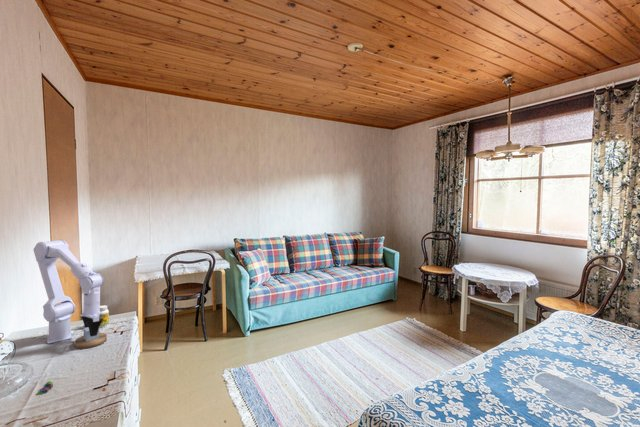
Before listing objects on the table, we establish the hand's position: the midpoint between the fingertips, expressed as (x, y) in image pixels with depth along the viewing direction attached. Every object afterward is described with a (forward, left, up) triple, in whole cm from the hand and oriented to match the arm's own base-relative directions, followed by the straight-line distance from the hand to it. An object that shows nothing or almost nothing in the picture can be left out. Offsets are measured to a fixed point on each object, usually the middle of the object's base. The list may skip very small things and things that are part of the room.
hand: (91, 332), depth 128 cm
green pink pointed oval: (+30, -14, -5) cm, 34 cm away
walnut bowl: (0, 0, -4) cm, 4 cm away
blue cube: (0, 0, -2) cm, 2 cm away
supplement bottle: (-18, +6, -5) cm, 20 cm away
